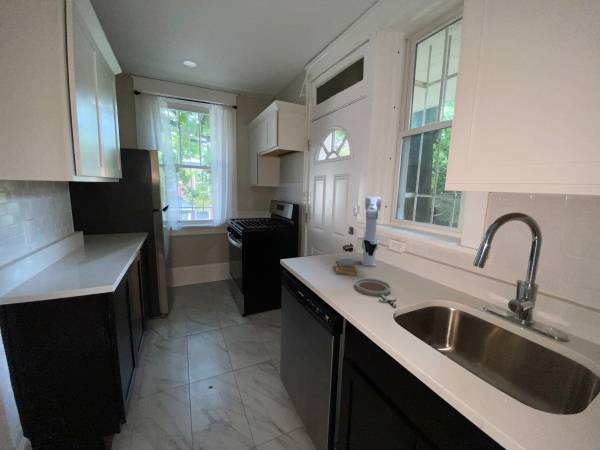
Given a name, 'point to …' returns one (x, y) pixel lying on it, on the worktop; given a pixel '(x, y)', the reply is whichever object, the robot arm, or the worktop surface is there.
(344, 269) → the rack
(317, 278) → the worktop surface
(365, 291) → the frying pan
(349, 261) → the upright pale blue slab
